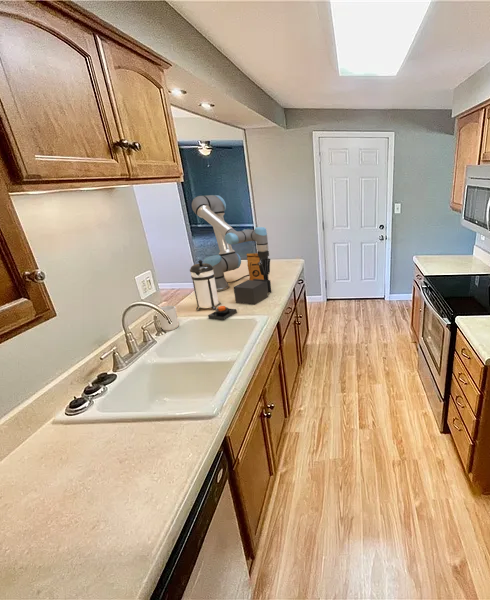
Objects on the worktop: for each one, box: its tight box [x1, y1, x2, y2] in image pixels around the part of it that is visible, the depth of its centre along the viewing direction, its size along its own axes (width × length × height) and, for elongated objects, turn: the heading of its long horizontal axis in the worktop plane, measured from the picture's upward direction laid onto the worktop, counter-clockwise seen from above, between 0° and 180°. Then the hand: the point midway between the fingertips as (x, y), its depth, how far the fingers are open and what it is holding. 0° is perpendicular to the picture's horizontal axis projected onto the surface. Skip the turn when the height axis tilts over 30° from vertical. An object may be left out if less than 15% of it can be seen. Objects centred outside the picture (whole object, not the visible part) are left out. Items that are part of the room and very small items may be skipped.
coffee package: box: [246, 252, 264, 280], centre depth 252 cm, size 10×12×22 cm
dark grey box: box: [233, 279, 269, 306], centre depth 214 cm, size 16×14×11 cm
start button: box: [217, 305, 227, 311], centre depth 190 cm, size 4×4×2 cm
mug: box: [155, 305, 180, 332], centre depth 175 cm, size 12×9×11 cm
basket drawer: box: [253, 279, 273, 294], centre depth 222 cm, size 19×13×9 cm, turn 165°
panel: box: [207, 306, 238, 321], centre depth 190 cm, size 12×10×4 cm
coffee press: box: [189, 259, 221, 312], centre depth 199 cm, size 17×16×30 cm
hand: (266, 283), depth 231 cm, fingers closed
